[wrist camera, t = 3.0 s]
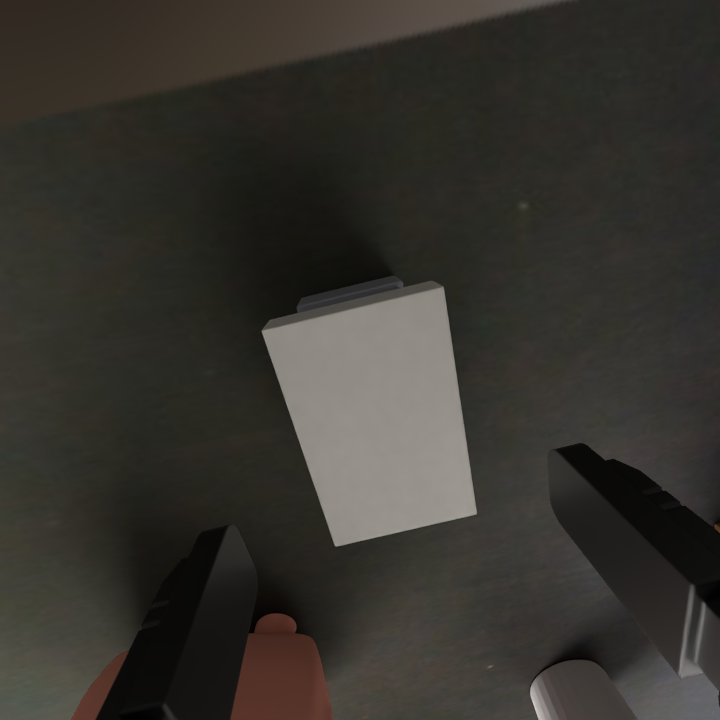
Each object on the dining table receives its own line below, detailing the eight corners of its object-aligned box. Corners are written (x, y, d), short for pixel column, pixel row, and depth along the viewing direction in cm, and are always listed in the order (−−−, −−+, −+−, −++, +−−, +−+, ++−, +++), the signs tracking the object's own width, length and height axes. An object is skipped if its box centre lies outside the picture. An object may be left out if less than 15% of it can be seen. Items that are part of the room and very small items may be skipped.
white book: (269, 319, 12) (260, 330, 11) (432, 280, 12) (443, 285, 11) (335, 520, 15) (334, 547, 14) (465, 490, 15) (477, 514, 14)
